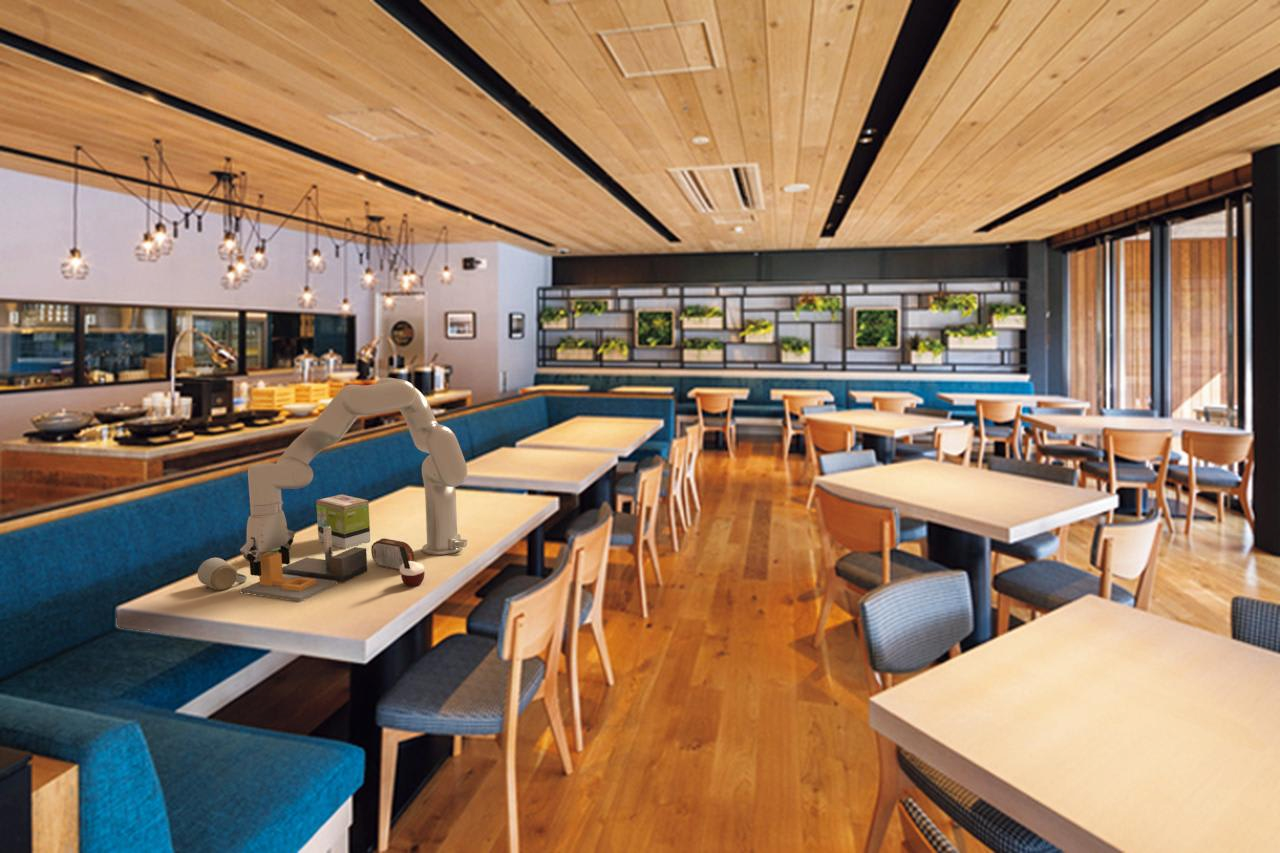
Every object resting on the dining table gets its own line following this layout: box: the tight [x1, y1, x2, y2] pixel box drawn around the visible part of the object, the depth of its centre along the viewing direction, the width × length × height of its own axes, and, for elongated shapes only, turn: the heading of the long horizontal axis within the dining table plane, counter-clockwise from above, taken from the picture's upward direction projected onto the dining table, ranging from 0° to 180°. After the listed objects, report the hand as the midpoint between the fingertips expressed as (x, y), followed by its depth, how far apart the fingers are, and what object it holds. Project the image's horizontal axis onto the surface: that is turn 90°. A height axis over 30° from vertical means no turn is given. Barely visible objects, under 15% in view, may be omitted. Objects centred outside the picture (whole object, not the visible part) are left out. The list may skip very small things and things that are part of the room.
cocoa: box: [399, 547, 426, 587], centre depth 189 cm, size 10×6×12 cm, turn 146°
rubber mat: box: [239, 574, 337, 602], centre depth 186 cm, size 20×13×1 cm, turn 73°
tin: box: [370, 538, 415, 571], centre depth 202 cm, size 15×3×8 cm, turn 65°
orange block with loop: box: [258, 552, 317, 591], centre depth 186 cm, size 14×6×8 cm, turn 73°
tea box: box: [315, 494, 371, 550], centre depth 228 cm, size 15×10×15 cm, turn 58°
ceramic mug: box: [197, 557, 248, 591], centre depth 188 cm, size 11×8×8 cm
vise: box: [282, 526, 368, 584], centre depth 197 cm, size 22×10×14 cm, turn 73°
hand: (270, 569), depth 187 cm, fingers open, 9 cm apart
